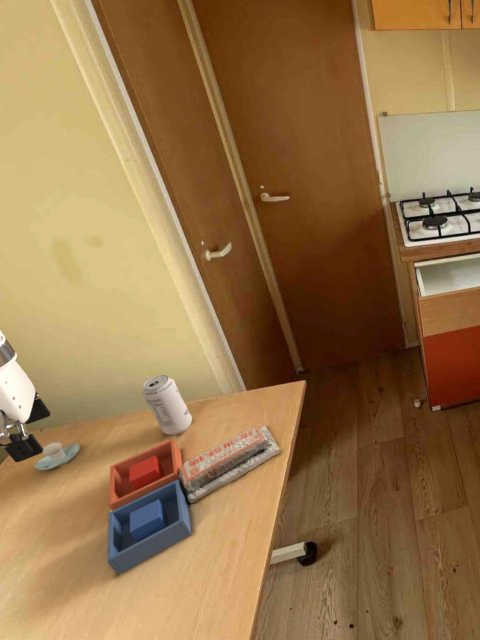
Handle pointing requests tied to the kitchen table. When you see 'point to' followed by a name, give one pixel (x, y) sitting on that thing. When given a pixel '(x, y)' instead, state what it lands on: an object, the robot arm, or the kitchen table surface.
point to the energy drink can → (167, 404)
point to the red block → (145, 472)
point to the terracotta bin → (126, 493)
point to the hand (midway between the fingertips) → (34, 437)
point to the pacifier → (56, 455)
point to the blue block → (148, 520)
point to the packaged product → (226, 462)
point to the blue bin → (131, 552)
